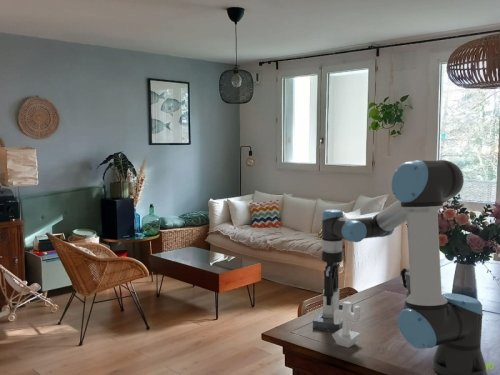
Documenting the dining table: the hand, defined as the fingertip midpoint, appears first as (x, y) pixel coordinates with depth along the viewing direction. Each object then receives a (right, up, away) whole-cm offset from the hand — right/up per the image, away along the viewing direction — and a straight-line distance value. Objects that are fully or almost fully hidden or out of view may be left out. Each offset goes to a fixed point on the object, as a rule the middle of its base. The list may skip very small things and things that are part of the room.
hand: (331, 310), depth 189 cm
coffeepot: (+37, -4, +18) cm, 42 cm away
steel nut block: (0, -5, 0) cm, 5 cm away
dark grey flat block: (+2, -5, +5) cm, 7 cm away
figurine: (+2, -7, -18) cm, 19 cm away
